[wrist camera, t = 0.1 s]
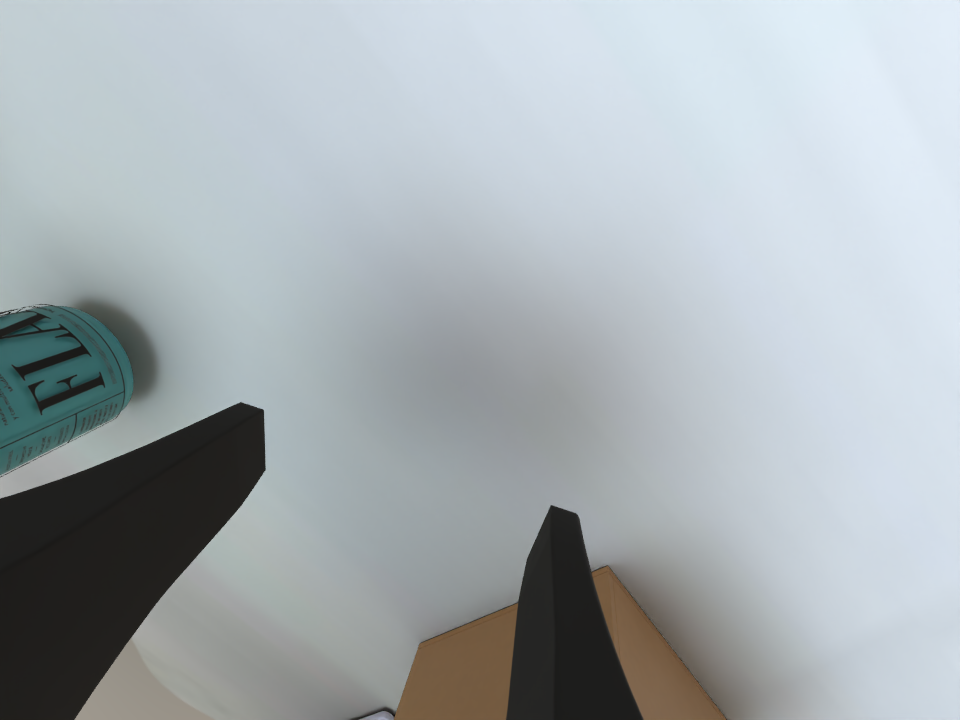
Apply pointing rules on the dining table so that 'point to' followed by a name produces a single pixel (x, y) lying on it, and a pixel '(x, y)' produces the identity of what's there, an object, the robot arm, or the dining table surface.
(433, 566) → the dining table surface
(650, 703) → the carton
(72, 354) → the beverage bottle
